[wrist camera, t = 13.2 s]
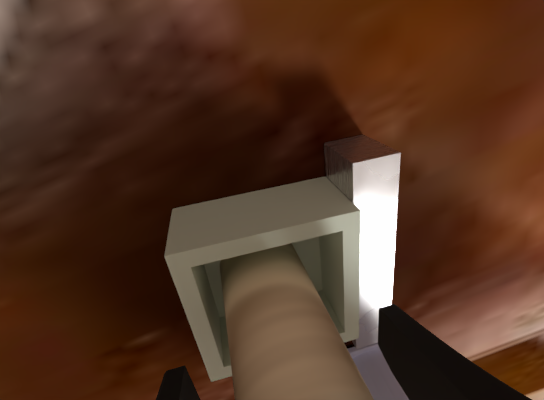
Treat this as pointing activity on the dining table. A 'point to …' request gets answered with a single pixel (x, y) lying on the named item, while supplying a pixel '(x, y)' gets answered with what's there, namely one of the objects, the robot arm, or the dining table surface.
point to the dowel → (283, 332)
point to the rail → (369, 219)
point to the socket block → (259, 236)
